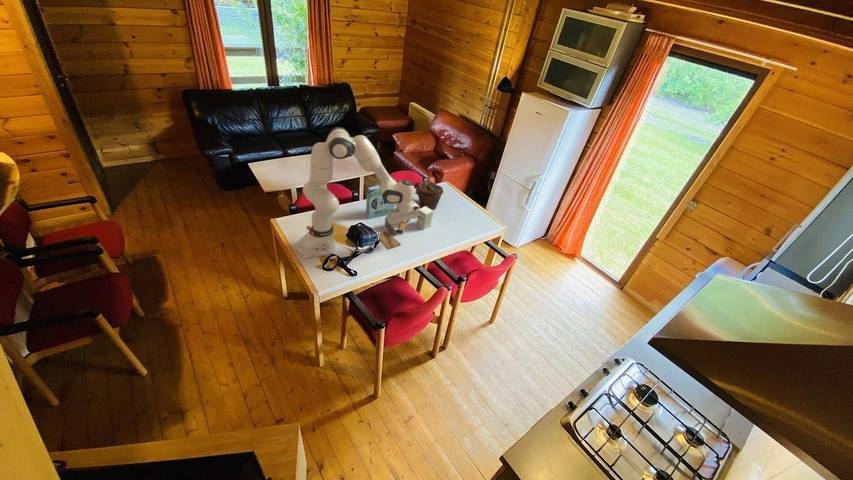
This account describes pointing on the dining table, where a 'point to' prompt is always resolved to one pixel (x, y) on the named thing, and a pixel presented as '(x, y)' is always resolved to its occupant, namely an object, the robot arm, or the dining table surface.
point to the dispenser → (392, 227)
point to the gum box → (376, 202)
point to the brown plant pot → (428, 194)
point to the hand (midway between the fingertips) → (401, 226)
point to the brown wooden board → (388, 240)
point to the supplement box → (424, 217)
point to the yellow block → (401, 225)
